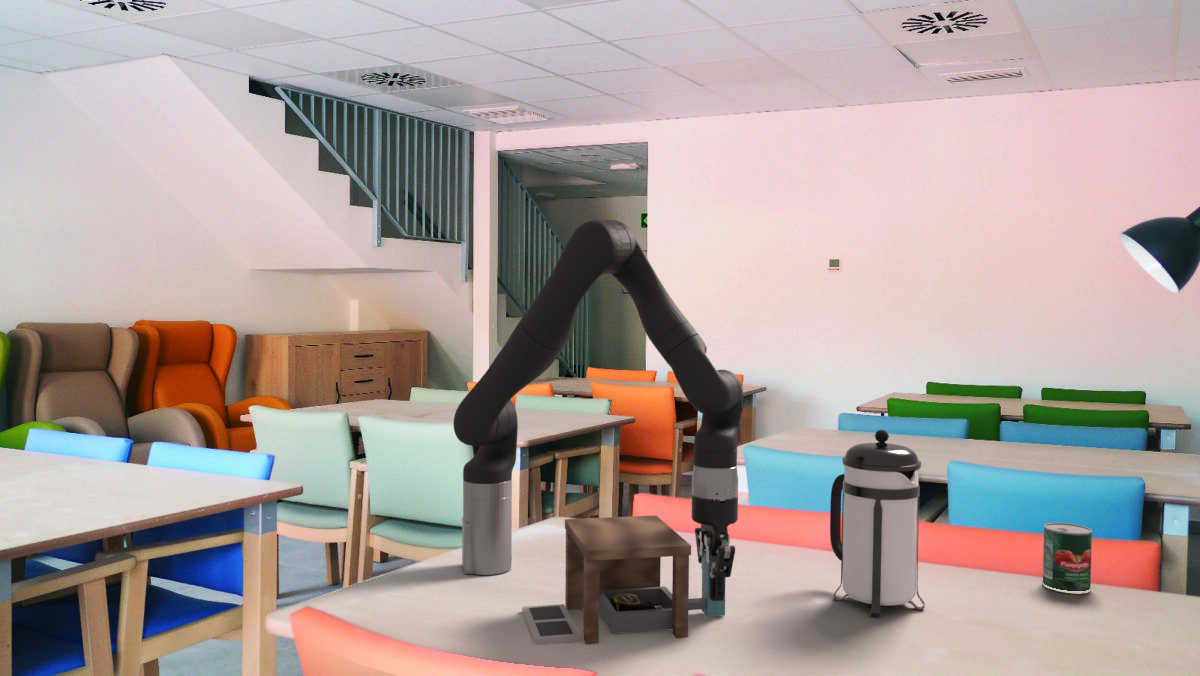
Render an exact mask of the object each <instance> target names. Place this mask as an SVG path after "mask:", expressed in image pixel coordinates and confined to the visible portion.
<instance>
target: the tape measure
mask: <svg viewBox="0 0 1200 676" xmlns="http://www.w3.org/2000/svg"><path fill="white" fill-rule="evenodd" d="M610 603H611V604H612V606H613V607H614V609H615V610H616V612H620V611H636V610H652V609H657V608H656V607H657V606H654V605H653V604H652V603H651V602H650V601H648V600H647V599H646V598H644V597H643V596H642V595H641V594H639V593H636V594H619V595H616V596H614V597H613V598H612V599H611V601H610Z"/></svg>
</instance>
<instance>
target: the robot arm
mask: <svg viewBox="0 0 1200 676" xmlns="http://www.w3.org/2000/svg"><path fill="white" fill-rule="evenodd" d="M608 274H609V275H610V274H611V276H612V277H614V278H615V279H616V280H617V282H619V283H620V285H621V286H622V287H623V288H624V289H625V290H626V291H627V293H628V295H629V296H630V297H631V300H632V301H633V303H634V305H635V307H636V311H637V314H638V316H639V318H640V322H641V325H642V327H643V331H644V332H645V334H646V336H647V337H648V339H649V341H650V342H651V344H652V345H653V346H654V347H655V349H656V350H657V352H658V353H659V355H661V357H662V358H663V359H664V361H665V362H666V363H667V364H668V366H669V367H670V368H671V370H672V372H673V375H674V377H675V379H676V381H677V384H678V385H679V387H680V388H681V390H682V393H683V394H684V397H685V398H686V399H687V401H688V403H689V404H690V405H691V406H692V407H693V408H694V409H695V410H696V411H697V412H699V413H701V414H702V415H701V417H702V418H701V423H700V427H699V429H698V430H697V431H696V432H695V435H694V442H693V468H692V476H691V477H692V478H691V519H692V520H693V522H695V523H697V524H699V525H700V527H695V529H694V534H695V544H696V552H697V561H698V564H701V565H700V567H701V569H702V558H703V552H705V551H706V556H707V562H708V563H709V564H710V576H711V577H710V598H711V600H712V601H722V600H723V599H724V582H725V583H726V579H727V578H730V577H731V575H732V569H733V563H734V559H735V555H736V546H735V545H730V543H731V542H730V541H731V539H730V534H729V533H728V532H729V530H728V527H729V526H730V525H733V524H735V523H737V522H738V519H739V518H738V517H739V516H738V515H739V474H738V440H737V439H738V433H739V429H740V424H741V418H742V414H743V407H744V406H743V405H744V391H743V386H742V383H741V381H740V379H739V377H738V375H736V374H735V373H734V372H732V371H731V370H727V369H717V368H716V367H715V366H714V364H713V363H712V361H711V360H710V358H709V357H708V355H707V354H706V353H707V350H708V349H707V345H706V343H705V341H704V340H703V338H702V337H701V335H700V334H699V333H698V331H696V329H695V328H694V326H693V325H692V324H691V322H690V321H689V320H688V319H687V317H686V316H685V315H684V313H683V312H682V311H681V309H680V308H679V307H678V306H677V304H676V303H675V302H674V300H673V298H672V297H671V296H670V295H669V293H668V291H667V290H666V288H665V286H664V285H663V283H662V281H661V279H660V278H659V276H658V275H657V273H656V271H655V269H654V268H653V266H652V264H651V263H650V261H649V259H648V257H647V255H646V254H645V252H644V250H643V247H642V246H641V244H640V242H639V240H638V238H637V236H636V235H635V234H634V232H633V231H632V230H631V228H630V227H629V226H628V225H627V224H625V223H624V222H622V221H620V220H614V219H591V220H588V221H585V222H583V223H582V224H580V225H579V226H578V227H577V228H575V229H574V231H573V233H572V234H571V236H570V238H569V239H568V241H567V243H566V245H565V247H564V249H563V251H562V253H561V254H560V257H559V259H558V261H557V263H556V264H555V266H554V269H553V270H552V272H551V274H550V275H549V278H548V279H547V281H546V282H545V283H544V285H543V286H542V288H541V289H540V290H539V292H538V294H537V295H536V297H535V299H533V301H532V303H531V305H530V306H529V307H528V309H527V311H526V312H525V313H524V314H523V315H522V317H521V319H520V321H519V322H518V323H517V324H516V326H515V328H514V329H513V331H512V332H511V334H510V335H509V337H508V338H507V340H506V342H505V344H504V345H503V346H502V348H501V350H500V351H499V352H498V353H497V355H496V357H495V358H494V359H493V361H492V363H491V364H490V366H488V367H489V368H487V369H486V371H485V373H484V374H483V375H482V377H480V379H479V380H478V382H476V384H475V385H474V386H473V387H472V388H471V389H470V390H469V392H468V393H467V394H466V395H465V397H464V398H463V399H462V400H461V402H460V403H459V404H458V406H457V408H456V411H455V413H454V418H453V431H454V434H455V436H456V438H457V439H458V440H459V442H461V443H463V444H464V445H467V446H474V447H475V446H476V447H478V446H479V447H478V450H477V451H476V453H475V455H474V456H473V457H472V458H470V459H469V461H467V462H466V463H465V464H464V466H463V469H462V481H463V482H462V483H463V484H462V512H463V513H462V516H461V531H462V532H461V536H462V537H461V566H462V570H463V574H464V575H467V574H472V575H479V576H480V575H481V576H492V575H498V574H504V573H507V572H509V571H510V570H511V569H512V559H513V558H512V557H513V555H512V545H513V544H512V541H513V540H512V536H513V535H512V529H513V525H512V522H513V521H512V520H513V519H512V517H513V516H512V513H513V510H512V509H513V507H512V505H513V503H512V502H513V501H512V499H513V497H512V495H513V491H512V488H513V486H512V485H513V484H512V482H513V480H512V479H513V470H514V468H515V465H516V460H517V448H518V429H519V428H518V427H519V426H518V425H519V422H518V420H519V419H518V413H517V410H516V407H515V405H514V403H513V401H512V399H513V398H514V396H515V395H517V394H518V393H519V392H520V391H522V390H523V389H525V388H526V387H527V386H528V385H530V384H531V383H532V382H533V381H535V380H536V379H537V378H539V377H540V376H542V374H544V373H545V372H546V371H547V370H548V369H549V368H550V367H552V365H553V363H554V362H555V361H556V359H557V358H558V357H559V355H560V354H561V353H562V351H563V350H564V349H565V347H566V346H567V344H568V342H569V340H570V338H571V335H572V333H573V331H574V327H575V326H574V325H575V321H576V316H577V310H578V308H579V305H580V303H581V301H582V300H583V299H584V297H585V295H586V294H587V292H589V290H590V289H591V287H592V286H593V284H595V282H596V281H597V280H598V279H599V278H600V277H601V276H602V275H608ZM712 556H717V557H716V558H712ZM720 568H721V570H720Z"/></svg>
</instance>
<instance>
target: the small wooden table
mask: <svg viewBox="0 0 1200 676" xmlns="http://www.w3.org/2000/svg"><path fill="white" fill-rule="evenodd" d="M564 530H565V594H564V595H565V597H564V598H565V600H564V601H565V603H564V605H565V607H566V609H567V611H569V610H583V616H582V617H583V618H582V619H583V622H582V623H583V624H582V625H583V631H582V633H583V636H582V637H583V638H582V640H583V641H584V644H585V645H597V644H598V645H599V644H600V614H599V590H611V589H628V588H645V587H661V558H663V557H672V580H671V581H672V586H671V587H672V588H671V589H672V590H671V593H672V629H671V634H672V636H673V637H674V638H675V639H681V638H684V639H685V638H689V610H688V607H689V599H690V598H689V597H690V593H689V591H690V584H689V583H690V582H689V581H690V556H692V545H691V544H690V543H689V542H688V541H686V540H685V539H684V538H683V537H682V536H681V535H679V534H678V533H677V532H676V531H675V530H674V529H673V528H671V526H670V525H668V524H667V523H666V522H664V520H662V519H661V518H660V516H658V515H633V516H614V517H613V516H611V517H592V518H591V517H589V518H587V517H586V518H585V517H584V518H565V519H564Z"/></svg>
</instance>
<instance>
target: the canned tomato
mask: <svg viewBox="0 0 1200 676" xmlns="http://www.w3.org/2000/svg"><path fill="white" fill-rule="evenodd" d="M1092 542H1093V530H1092V529H1091V528H1089V527H1087V526H1084V525H1080V524H1073V523H1065V522H1051V523H1050V522H1049V523H1045V524H1044V525H1043V550H1042V551H1043V552H1042V553H1043V554H1042V555H1043V556H1042V562H1043V563H1042V583H1044V584H1045V585H1047V586H1049V587H1052V588H1056V589H1060V590H1067V591H1086V590H1089V589H1091V587H1092V586H1091V583H1092V582H1091V581H1092V551H1093V549H1092V547H1093V546H1092Z"/></svg>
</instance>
